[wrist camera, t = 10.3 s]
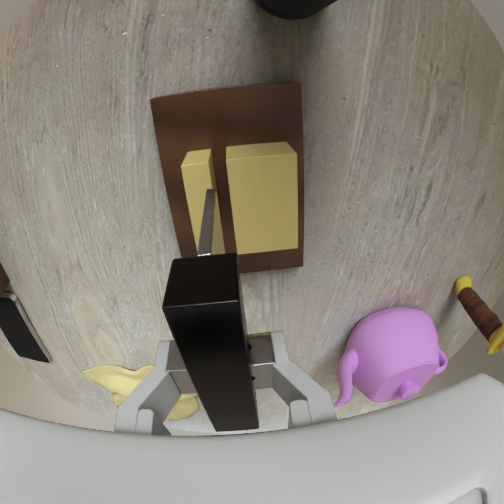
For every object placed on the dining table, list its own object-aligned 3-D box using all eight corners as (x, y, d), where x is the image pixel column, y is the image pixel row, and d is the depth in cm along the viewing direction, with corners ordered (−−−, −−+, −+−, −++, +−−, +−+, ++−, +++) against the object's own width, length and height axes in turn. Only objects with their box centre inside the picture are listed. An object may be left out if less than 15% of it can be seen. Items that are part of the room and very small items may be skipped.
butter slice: (187, 151, 23) (180, 165, 20) (211, 148, 23) (208, 161, 20) (201, 234, 28) (198, 259, 24) (222, 232, 28) (222, 256, 24)
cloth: (208, 368, 42) (208, 403, 37) (206, 417, 52) (206, 444, 47) (71, 350, 39) (60, 382, 34) (99, 404, 49) (93, 429, 44)
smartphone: (18, 356, 38) (-20, 294, 30) (20, 351, 39) (-17, 289, 31) (51, 363, 39) (12, 298, 31) (53, 358, 40) (16, 293, 32)
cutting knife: (190, 191, 15) (161, 307, 8) (232, 186, 15) (240, 300, 8) (215, 316, 20) (215, 432, 13) (247, 313, 20) (259, 429, 13)
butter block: (226, 146, 23) (225, 159, 20) (286, 141, 23) (297, 153, 20) (235, 230, 28) (237, 255, 24) (289, 225, 28) (298, 248, 25)
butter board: (154, 97, 22) (149, 99, 20) (296, 82, 22) (300, 82, 21) (188, 270, 32) (187, 279, 30) (300, 258, 32) (303, 266, 31)
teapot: (442, 292, 38) (481, 350, 28) (411, 349, 45) (437, 403, 35) (320, 303, 36) (347, 383, 26) (304, 365, 43) (319, 432, 34)
